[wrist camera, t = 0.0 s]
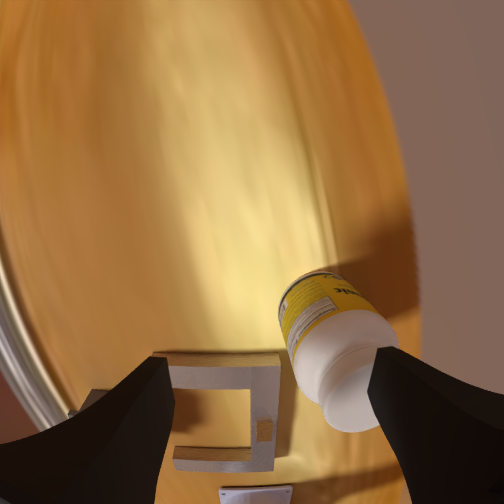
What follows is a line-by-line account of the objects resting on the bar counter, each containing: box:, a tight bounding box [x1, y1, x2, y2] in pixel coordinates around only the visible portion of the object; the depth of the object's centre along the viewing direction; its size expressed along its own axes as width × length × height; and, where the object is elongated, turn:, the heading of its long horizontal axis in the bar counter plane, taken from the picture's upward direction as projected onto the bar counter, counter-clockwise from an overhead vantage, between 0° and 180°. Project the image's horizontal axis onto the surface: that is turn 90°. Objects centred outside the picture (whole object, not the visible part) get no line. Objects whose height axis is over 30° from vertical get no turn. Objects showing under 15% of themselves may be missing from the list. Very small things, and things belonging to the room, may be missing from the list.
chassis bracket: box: [152, 352, 281, 473], centre depth 21 cm, size 13×9×2 cm
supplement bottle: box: [278, 271, 399, 432], centre depth 15 cm, size 5×5×10 cm
